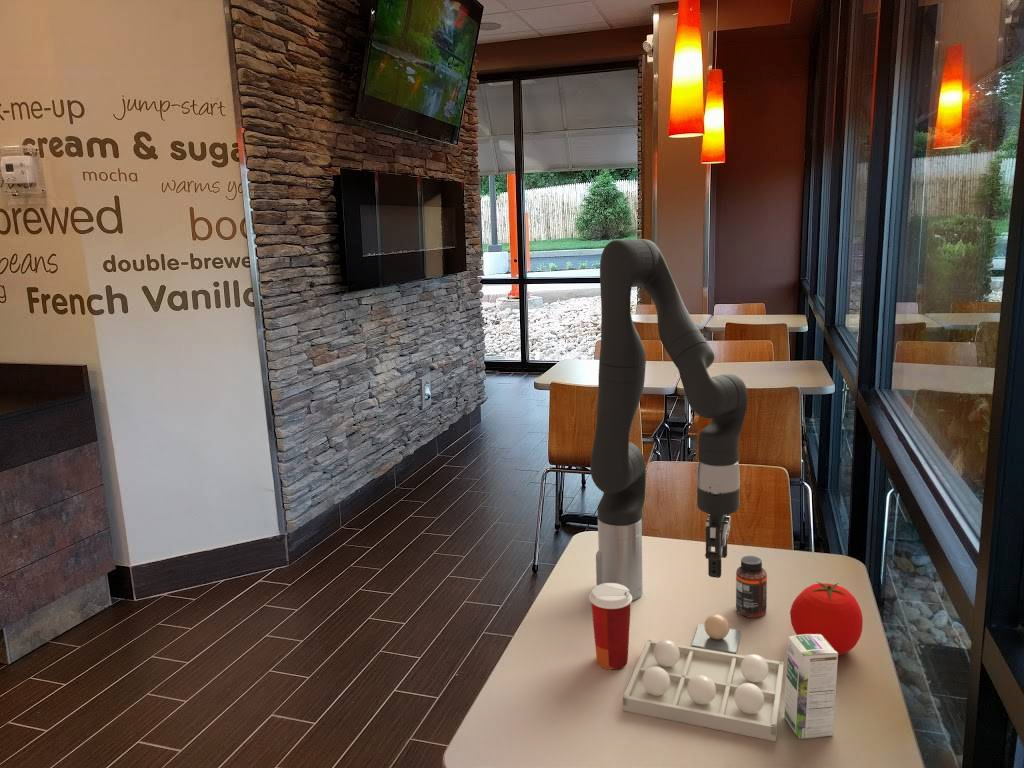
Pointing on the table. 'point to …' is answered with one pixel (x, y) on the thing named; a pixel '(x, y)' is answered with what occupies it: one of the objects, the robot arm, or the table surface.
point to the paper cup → (611, 624)
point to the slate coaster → (717, 641)
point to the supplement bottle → (751, 587)
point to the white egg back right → (754, 668)
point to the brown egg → (716, 626)
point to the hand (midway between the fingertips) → (718, 566)
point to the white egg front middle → (701, 689)
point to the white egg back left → (666, 653)
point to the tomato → (828, 615)
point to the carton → (734, 701)
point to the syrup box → (810, 685)
